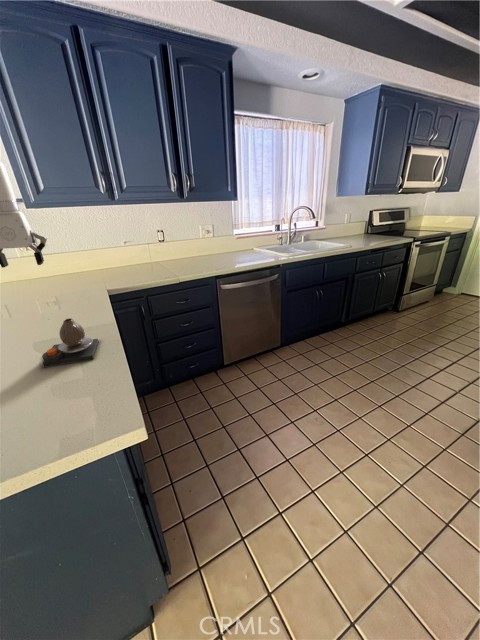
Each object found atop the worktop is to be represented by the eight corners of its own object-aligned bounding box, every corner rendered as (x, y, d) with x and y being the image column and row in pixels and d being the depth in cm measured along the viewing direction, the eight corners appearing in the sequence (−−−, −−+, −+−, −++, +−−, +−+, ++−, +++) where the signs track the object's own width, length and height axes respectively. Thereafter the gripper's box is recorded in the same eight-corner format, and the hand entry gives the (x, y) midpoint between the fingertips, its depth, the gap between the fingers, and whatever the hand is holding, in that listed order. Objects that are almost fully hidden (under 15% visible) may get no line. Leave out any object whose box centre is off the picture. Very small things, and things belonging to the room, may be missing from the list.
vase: (61, 350, 84) (53, 326, 81) (64, 341, 90) (57, 317, 86) (86, 346, 87) (79, 322, 83) (87, 336, 93) (81, 314, 89)
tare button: (46, 357, 83) (45, 353, 82) (49, 353, 85) (47, 348, 84) (56, 355, 84) (54, 351, 83) (58, 351, 86) (57, 347, 85)
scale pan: (54, 355, 83) (54, 353, 83) (63, 340, 92) (62, 339, 91) (89, 349, 86) (89, 348, 86) (94, 336, 95) (94, 334, 94)
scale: (42, 367, 82) (39, 359, 81) (54, 348, 93) (51, 340, 92) (93, 359, 86) (91, 351, 85) (98, 341, 97) (96, 334, 96)
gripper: (-42, 209, 72) (-16, 270, 80) (32, 207, 77) (50, 265, 84) (-27, 208, 79) (-4, 265, 86) (41, 207, 84) (57, 261, 91)
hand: (23, 265), depth 85 cm, fingers open, 9 cm apart
